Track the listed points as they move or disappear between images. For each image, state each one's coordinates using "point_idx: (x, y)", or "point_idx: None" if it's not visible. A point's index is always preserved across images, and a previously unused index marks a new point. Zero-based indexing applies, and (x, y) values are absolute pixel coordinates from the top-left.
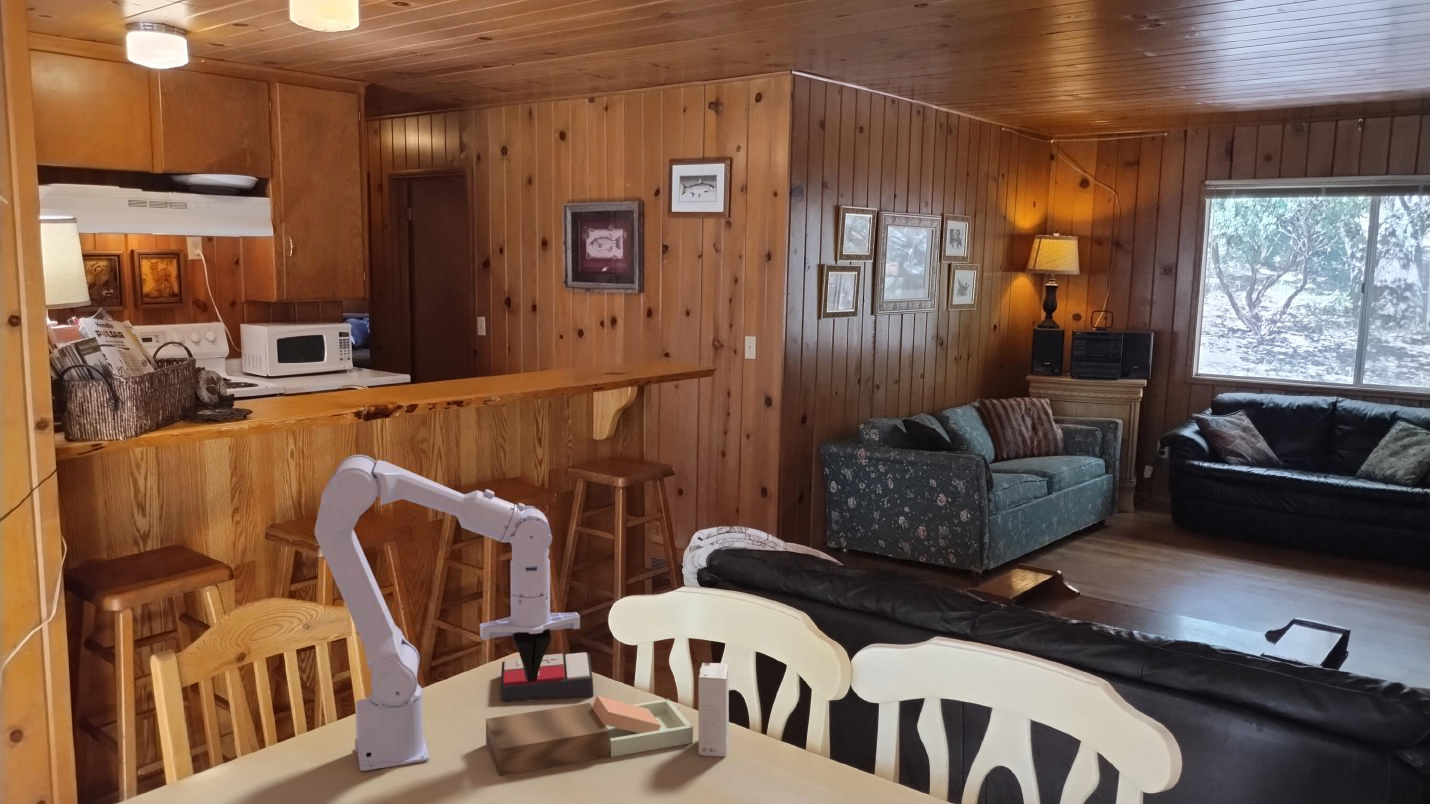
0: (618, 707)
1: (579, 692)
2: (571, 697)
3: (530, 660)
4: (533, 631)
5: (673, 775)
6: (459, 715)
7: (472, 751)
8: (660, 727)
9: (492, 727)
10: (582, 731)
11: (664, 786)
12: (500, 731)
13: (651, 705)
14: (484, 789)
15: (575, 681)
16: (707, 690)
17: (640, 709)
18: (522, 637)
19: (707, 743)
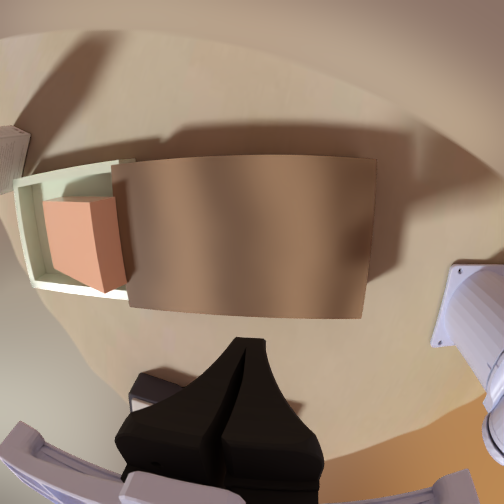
0: (77, 245)
1: (156, 384)
2: (171, 383)
3: (248, 384)
4: (203, 502)
5: (72, 79)
6: (354, 392)
7: (380, 273)
8: None
9: (361, 274)
10: (161, 177)
11: (93, 48)
12: (351, 247)
13: (52, 281)
14: (394, 119)
15: (155, 399)
16: None
17: (58, 257)
18: (272, 486)
19: (12, 131)
